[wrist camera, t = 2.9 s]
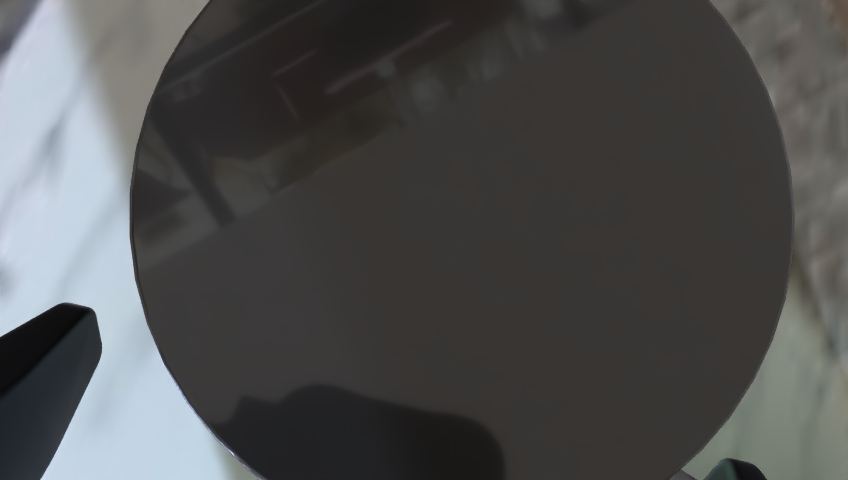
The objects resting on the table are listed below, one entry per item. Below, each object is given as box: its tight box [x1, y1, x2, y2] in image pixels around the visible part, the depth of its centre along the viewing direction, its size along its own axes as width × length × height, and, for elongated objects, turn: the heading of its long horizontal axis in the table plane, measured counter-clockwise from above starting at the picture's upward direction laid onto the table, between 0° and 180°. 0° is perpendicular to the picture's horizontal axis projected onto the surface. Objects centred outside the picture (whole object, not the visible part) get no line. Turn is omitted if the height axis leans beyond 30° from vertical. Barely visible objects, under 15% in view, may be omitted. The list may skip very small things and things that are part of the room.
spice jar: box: [130, 0, 795, 480], centre depth 13 cm, size 6×6×13 cm
